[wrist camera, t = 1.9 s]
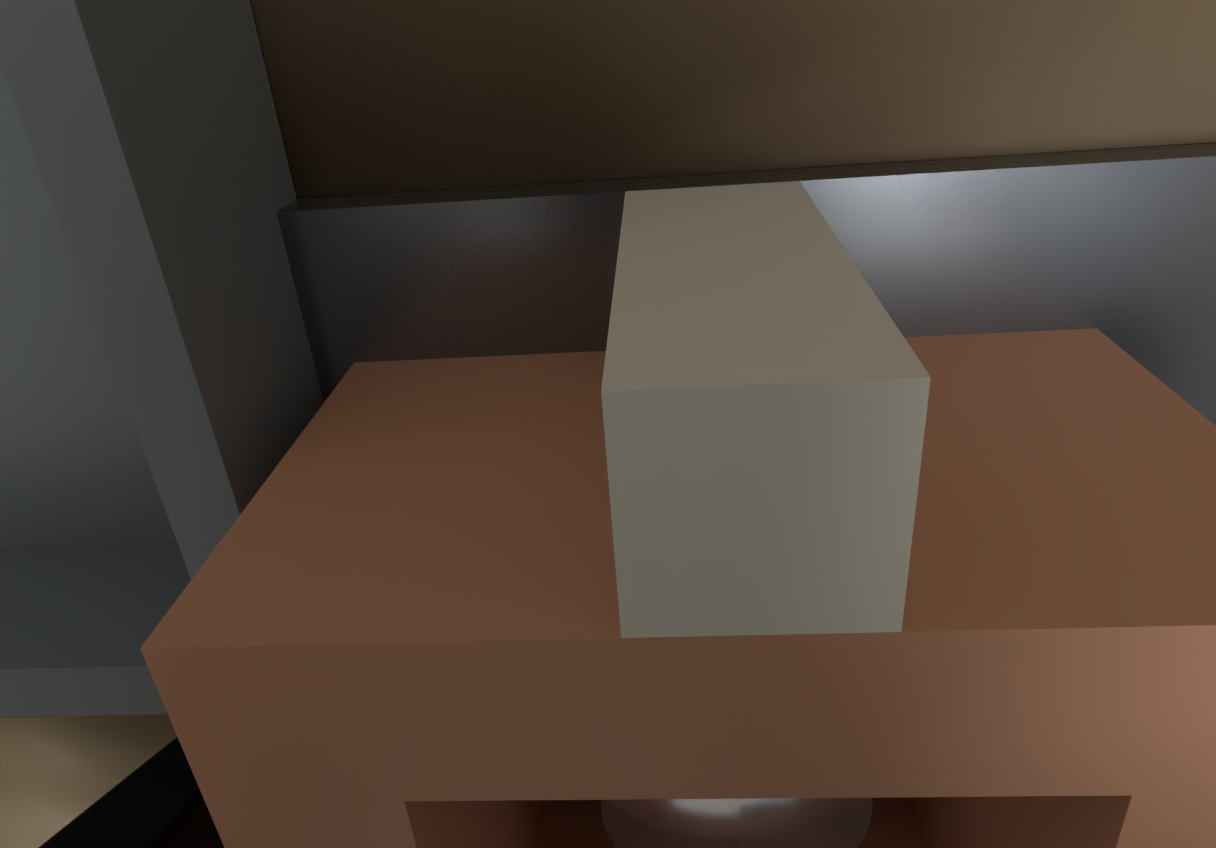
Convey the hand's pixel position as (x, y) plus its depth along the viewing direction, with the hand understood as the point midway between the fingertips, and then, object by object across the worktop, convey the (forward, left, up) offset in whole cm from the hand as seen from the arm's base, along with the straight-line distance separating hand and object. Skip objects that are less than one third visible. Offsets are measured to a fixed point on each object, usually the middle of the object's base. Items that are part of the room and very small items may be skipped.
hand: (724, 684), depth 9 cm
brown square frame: (0, 0, -1) cm, 1 cm away
